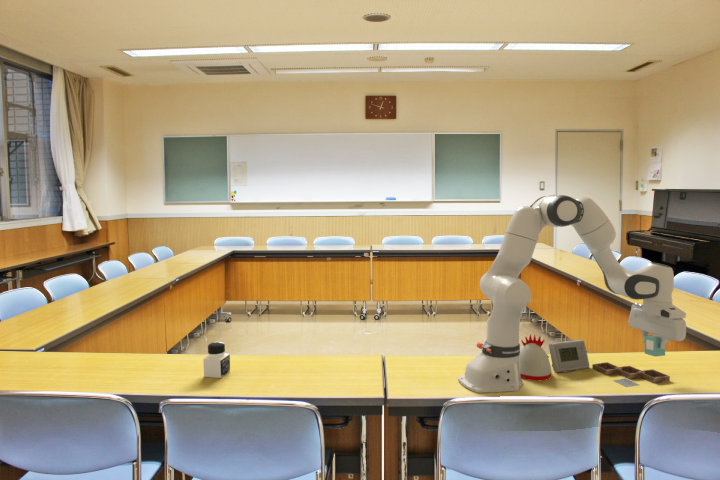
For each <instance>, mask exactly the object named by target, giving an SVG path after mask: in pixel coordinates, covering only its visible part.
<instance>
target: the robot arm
mask: <svg viewBox="0 0 720 480" xmlns="http://www.w3.org/2000/svg"><path fill="white" fill-rule="evenodd" d="M546 226H547V227H550V228H551V227H555V228H556V227H557V228H558V227H560V228H561V227H567V226H572V228H574V230H575V232H576V233H577V235H578V236H579V238H580V239H581V240H582V242H583V243H584V244H585V245H586V247H587V248H588V250H589V252H590V253H591V255H592V257H593V259H594V261H595V262H596V263H597V265H598V267H599V268H600V270H601V273H602V274H603V281H604V284H605V287H606V289H607V290H608V291H609V292H610V293H613V294H615V295H616V294H617V295H619V296H623V297H625V298H629V299H631V300H642V304H641V303H638V302H635V303H632V305H631V308H630V313H629V316H628V325H629V327H630V328H634V329H637V330H639V331H640V333H641V336H642V339H643V341H642V342H643V343H644V344H645V336H647V335H649V333H650V334H651V335H657V336H661V339H662V342H661V343H658V348H660V349H665V350H666V346H667V345H666V344H667V343H669V341H670V340H671V341H675V342H682V341H684V340H685V339H686V336H687V324H686V323H687V322H686V320H685V319H686V317H687V313H686V312H685V310H682V309H680V308H679V307H677V306H676V305H674V304H673V298H672V294H673V291H674V285H675V278H674V277H675V276H674V270H673V268H672V267H671V266H669V265H666V264H664V263H663V264H662V263H657V262H648V263H647V264H646V265H645V266H643V267H641V268H639V269H635V270H630V269H628V268H626V267H624V266H622V265H621V264H620V263H619V261H618V260H617V258H616V257H615V254H614V253H613V252H612V250H611V247H610V246H611V245H612V244H613V243H614V242H615V239H616V236H617V233H616V228H615V227H614V224H613V223H612V222H611V220H610V219H609V217H608V216H607V214H606V212H604V210H603V209H602V208H601V207H600V206H599V205H598V203H596V202H595V201H594V200H593V199H592V198H590V197H587V196H584V197H577V198H576V199H575V198H574V197H572V196H569V195H565V194H561V195H558V194H552V195H551V194H550V195H545V196H541V197H539V198H537V199H536V200H535V201H534V202H533V203H532V204H531V205H529V206H528V205H527V206H519V207H518V208H516V209H515V211H514V213H513V215H512V216H511V218H510V220H509V222H508V225H507V227H506V230H505V233H504V234H503V235H504V236H503V239H502V242H501V245H500V248H499V250H498V253H497V255H496V257H495V258H494V261H493V262H492V264H491V266H490V267H489V268H488V271H486V272H485V273H484V274H483V275H482V276H481V278H480V279H479V289H480V291H481V292H482V294H483V295H484V296H485V297H486V299H488V300H490V301H492V303H493V305H492V306H493V307H492V311H491V314H490V316H489V317H488V318H487V321H486V340H485V342H484V344H483V343H481V342H480V341H479V342H477V343H476V347H477V348H478V349H480V350H481V352H480V353H479V354H477V355H476V356H475V357H474V358H472V359H471V360H470V361H469V362H467V364H466V367H465V370H464V371H465V372H464V374H461V375H458V382H459V383H460V384H461V385H462V386H463V387H464V388H467V389H468V390H470V391H472V392H474V393H477V394H478V393H481V394H482V393H505V392H519V391H520V388H521V386H522V385H523V382H524V381H523V378H521V374H520V368H519V354H520V348H521V344H520V341H519V340H520V324H521V318H522V315H523V312H524V309H525V308H526V307H527V306H528V305H529V304H530V302H531V299H532V291H531V288H530V287H529V285H528V284H527V283H525V282H524V281H523V280H522V279H521V278H519V276H520V275H521V273H522V271H523V270H524V269H525V267H527V266H528V265H530V263H531V261H532V258H533V254H534V252H535V249H536V246H537V243H538V240H539V236H540V234H541V231H542V230H543V229H544V227H546Z"/></svg>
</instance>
